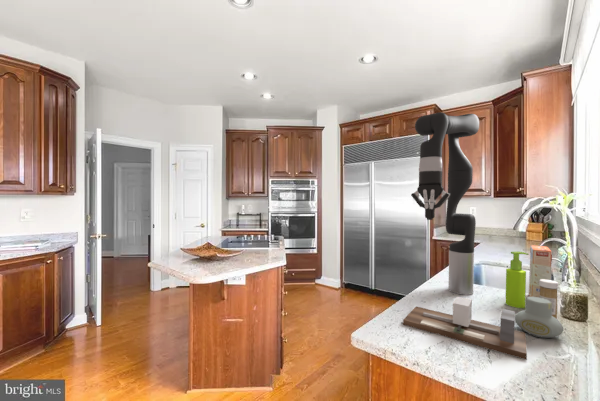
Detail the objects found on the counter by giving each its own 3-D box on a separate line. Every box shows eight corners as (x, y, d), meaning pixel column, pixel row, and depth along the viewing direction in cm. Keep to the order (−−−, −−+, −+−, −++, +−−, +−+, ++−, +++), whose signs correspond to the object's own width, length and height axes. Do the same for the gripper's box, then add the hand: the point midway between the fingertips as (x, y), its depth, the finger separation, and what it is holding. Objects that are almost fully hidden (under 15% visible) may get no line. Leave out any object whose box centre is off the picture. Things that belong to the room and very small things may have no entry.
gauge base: (415, 310, 99) (416, 289, 98) (525, 337, 80) (525, 311, 80) (403, 324, 87) (403, 300, 87) (526, 359, 69) (527, 329, 69)
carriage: (456, 316, 89) (457, 296, 89) (471, 320, 86) (471, 299, 86) (450, 329, 80) (450, 307, 80) (466, 333, 77) (466, 310, 77)
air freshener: (564, 335, 82) (565, 301, 82) (560, 345, 76) (561, 308, 76) (518, 323, 90) (518, 291, 90) (511, 330, 84) (512, 297, 84)
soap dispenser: (532, 308, 102) (533, 253, 102) (513, 307, 102) (514, 253, 102) (519, 302, 108) (521, 250, 108) (501, 301, 108) (502, 250, 108)
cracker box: (551, 307, 103) (552, 251, 103) (530, 303, 107) (531, 249, 106) (547, 297, 114) (548, 246, 114) (528, 294, 118) (529, 244, 118)
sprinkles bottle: (559, 323, 90) (560, 281, 90) (554, 326, 88) (555, 283, 87) (541, 317, 94) (542, 277, 94) (536, 321, 91) (537, 280, 91)
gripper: (453, 170, 98) (452, 220, 98) (414, 172, 106) (413, 218, 107) (449, 168, 92) (448, 221, 93) (408, 170, 100) (407, 219, 101)
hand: (429, 219), depth 100 cm, fingers closed
